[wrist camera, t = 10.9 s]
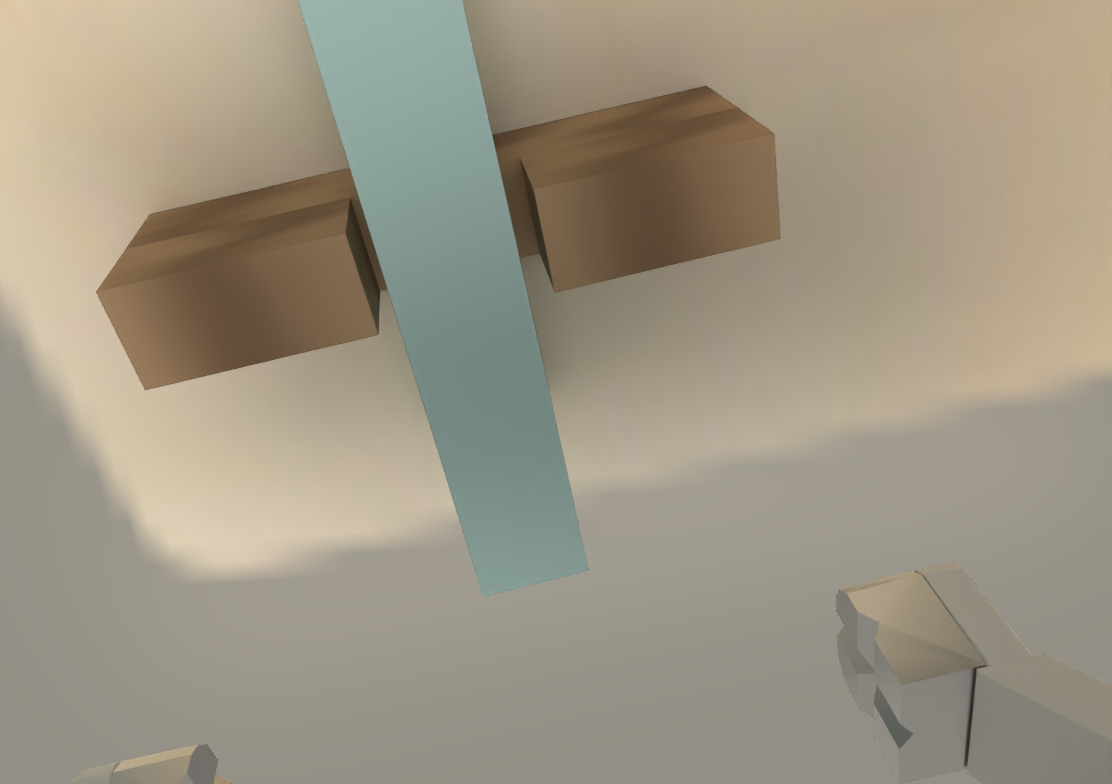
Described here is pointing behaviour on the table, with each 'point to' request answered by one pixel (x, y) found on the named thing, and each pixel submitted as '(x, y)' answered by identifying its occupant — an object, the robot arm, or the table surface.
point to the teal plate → (452, 273)
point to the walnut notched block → (351, 260)
